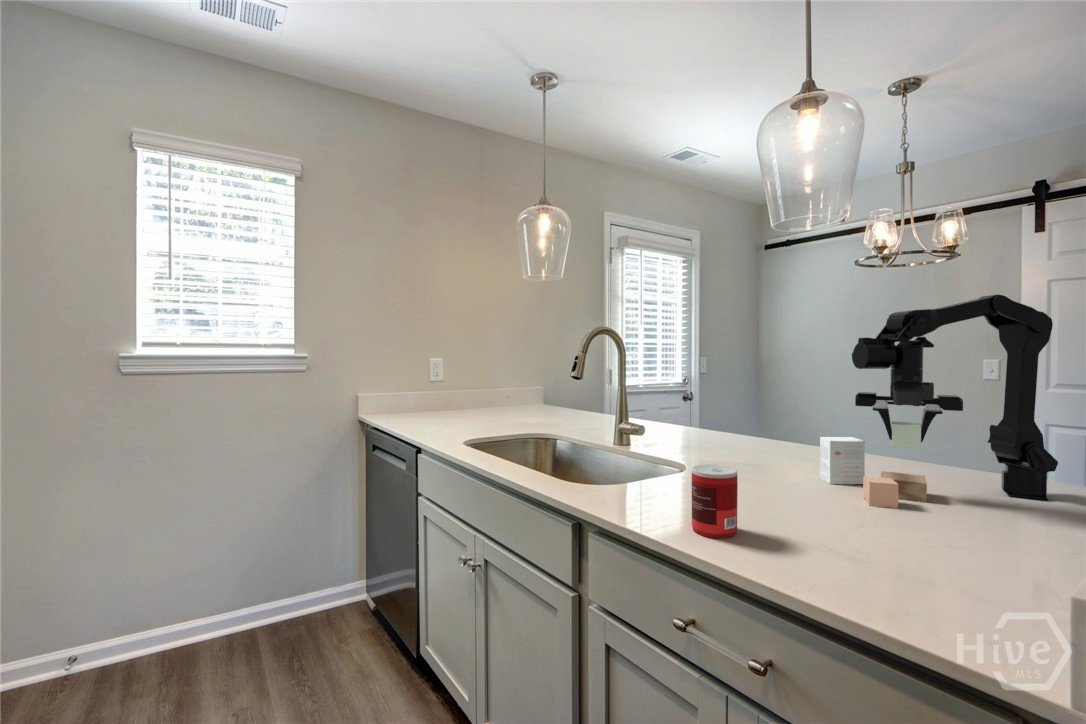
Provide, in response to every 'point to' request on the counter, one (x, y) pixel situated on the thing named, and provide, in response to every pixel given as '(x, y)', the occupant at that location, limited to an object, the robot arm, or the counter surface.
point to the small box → (842, 460)
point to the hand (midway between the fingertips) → (905, 440)
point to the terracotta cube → (880, 492)
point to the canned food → (714, 501)
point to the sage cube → (906, 435)
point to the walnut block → (909, 485)
